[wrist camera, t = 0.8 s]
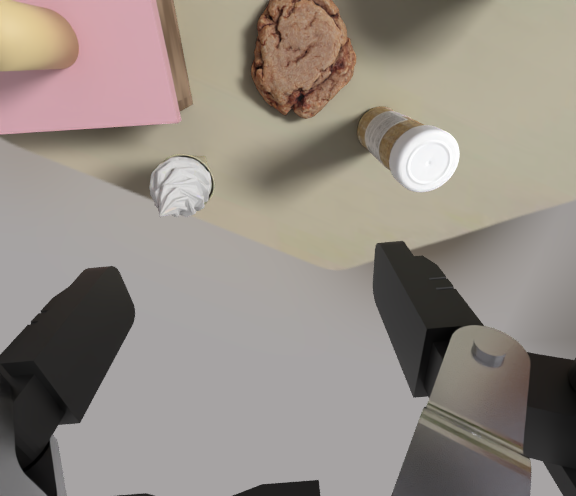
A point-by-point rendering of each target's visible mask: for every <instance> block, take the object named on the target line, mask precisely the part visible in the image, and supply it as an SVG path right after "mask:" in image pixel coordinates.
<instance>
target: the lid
mask: <svg viewBox="0 0 576 496" xmlns="http://www.w3.org/2000/svg"><path fill="white" fill-rule="evenodd" d="M180 121H182V120H181V116H180V111H179V106H178V102H177V97H176V92H175V87H174V83H173V78H172V73H171V69H170V64H169V59H168V54H167V50H166V45H165V40H164V36H163V31H162V26H161V21H160V17H159V12H158V7H157V3H156V0H0V134H14V133H30V132H45V131H61V130H76V129H92V128H107V127H123V126H139V125H154V124H170V123H178V122H180Z"/></svg>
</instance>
